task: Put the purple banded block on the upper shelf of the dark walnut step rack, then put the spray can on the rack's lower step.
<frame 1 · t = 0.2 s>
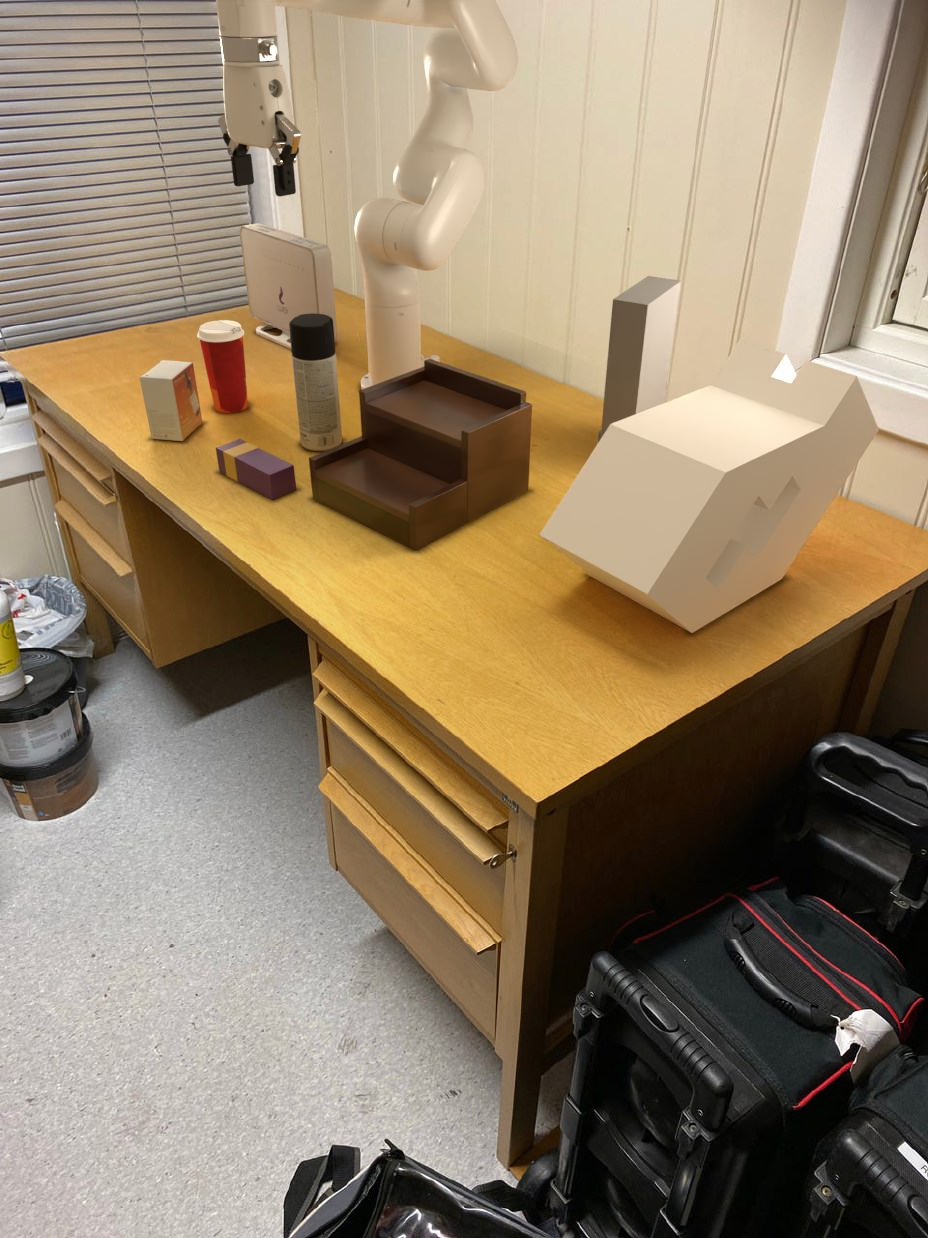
hand: (264, 189, 138), 37 cm above the table, tool pointing down, fingers open, 9 cm apart
cream angular block: (700, 570, 123), on the table
small box: (178, 432, 157), on the table
spray can: (321, 444, 153), on the table
cassette tape recorder: (628, 450, 152), on the table
purple banded block: (257, 480, 143), on the table
step rack: (413, 498, 138), on the table
paper cup: (231, 407, 166), on the table
network device: (294, 338, 195), on the table
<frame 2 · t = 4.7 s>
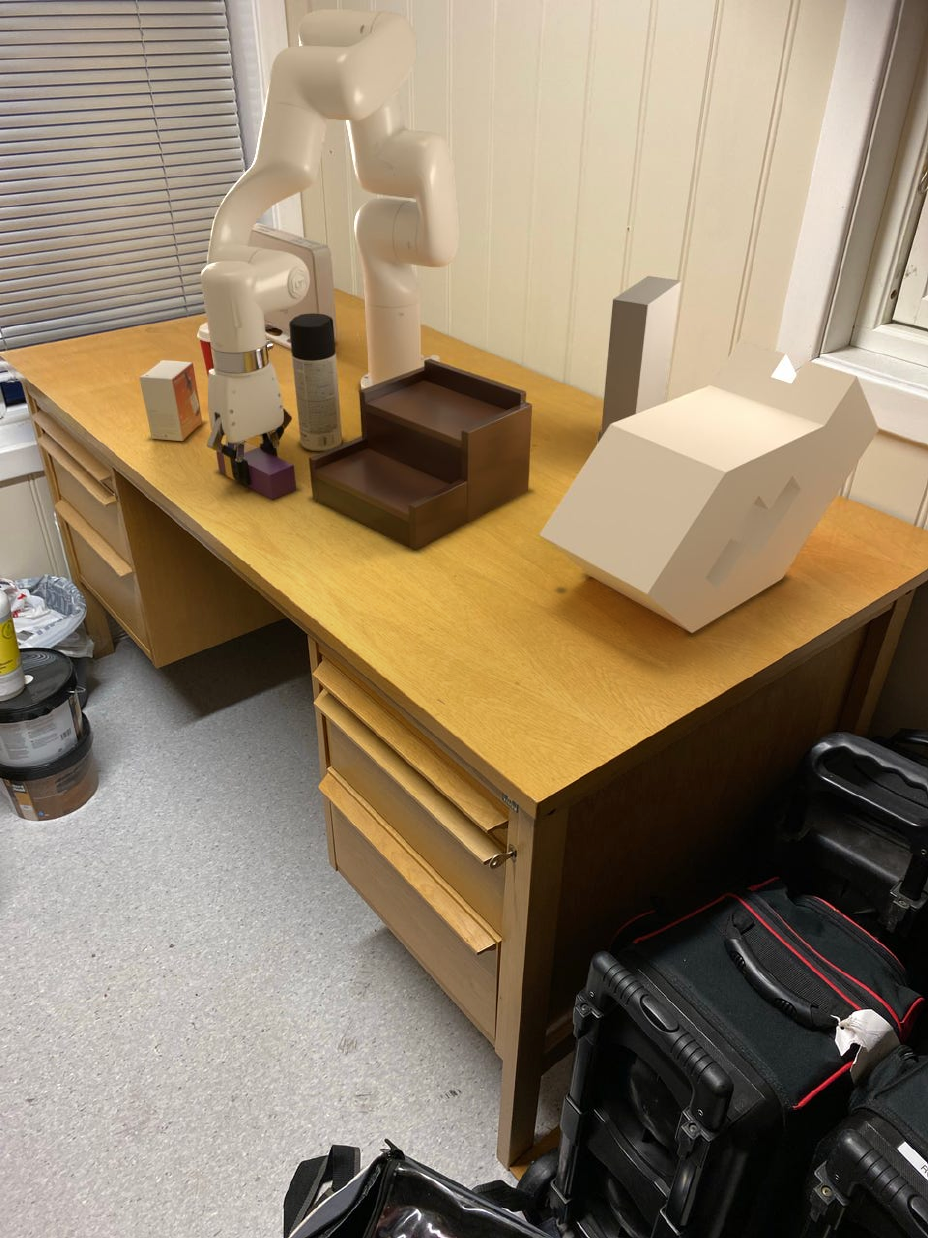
hand: (256, 475, 142), 1 cm above the table, tool pointing down, fingers closed on purple banded block, 4 cm apart
purple banded block: (257, 480, 143), on the table, touching gripper
everything else where it was.
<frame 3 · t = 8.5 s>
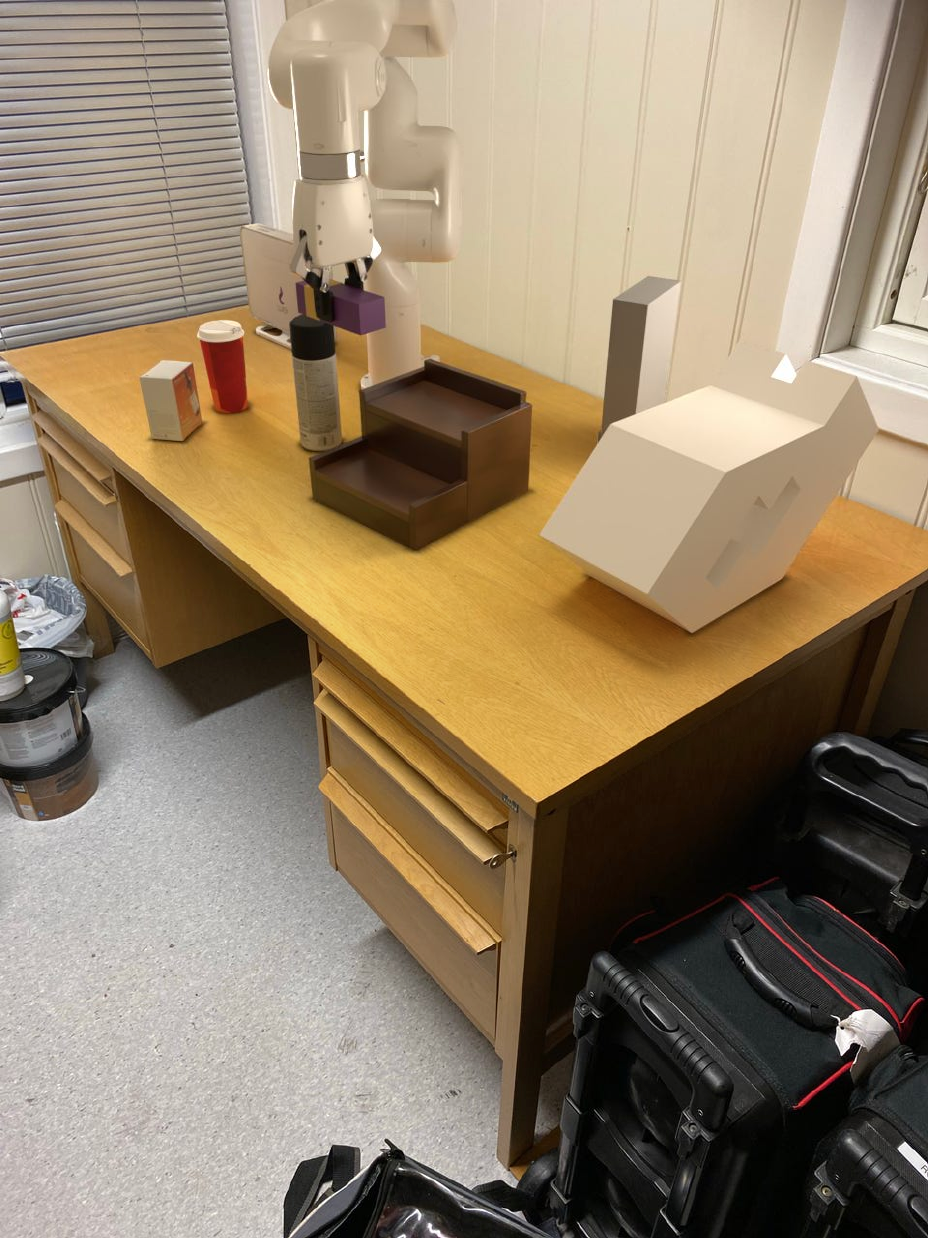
hand: (340, 313, 127), 25 cm above the table, tool pointing down, fingers closed on purple banded block, 4 cm apart
purple banded block: (341, 319, 128), point 24 cm above the table, touching gripper
everything else where it was.
when the fingers open (13 cm above the table, at t = 12.6 s): purple banded block stays where it is, resting on step rack.
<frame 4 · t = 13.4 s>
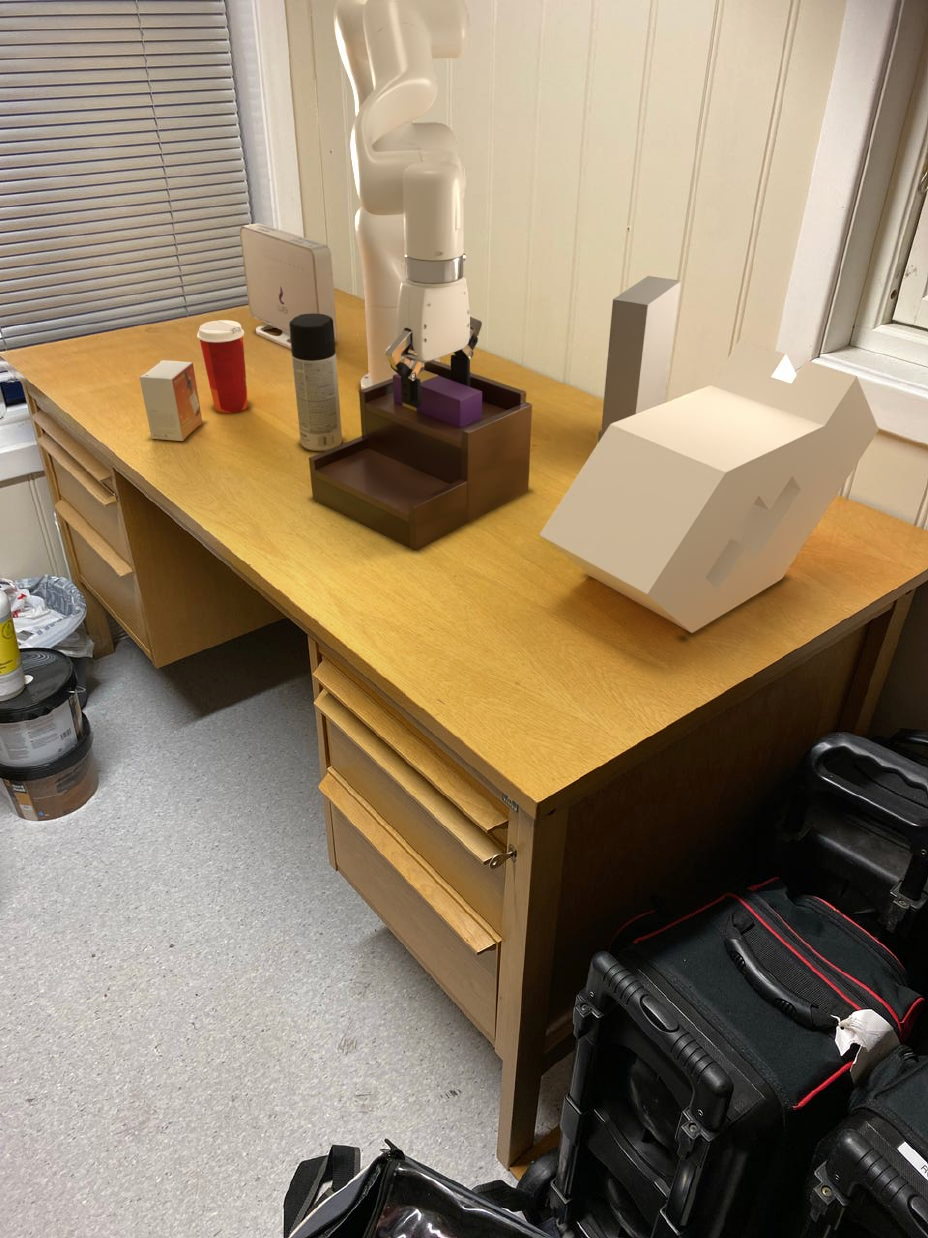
hand: (436, 394, 133), 14 cm above the table, tool pointing down, fingers open, 9 cm apart
purple banded block: (436, 410, 134), point 12 cm above the table, touching step rack
everything else where it was.
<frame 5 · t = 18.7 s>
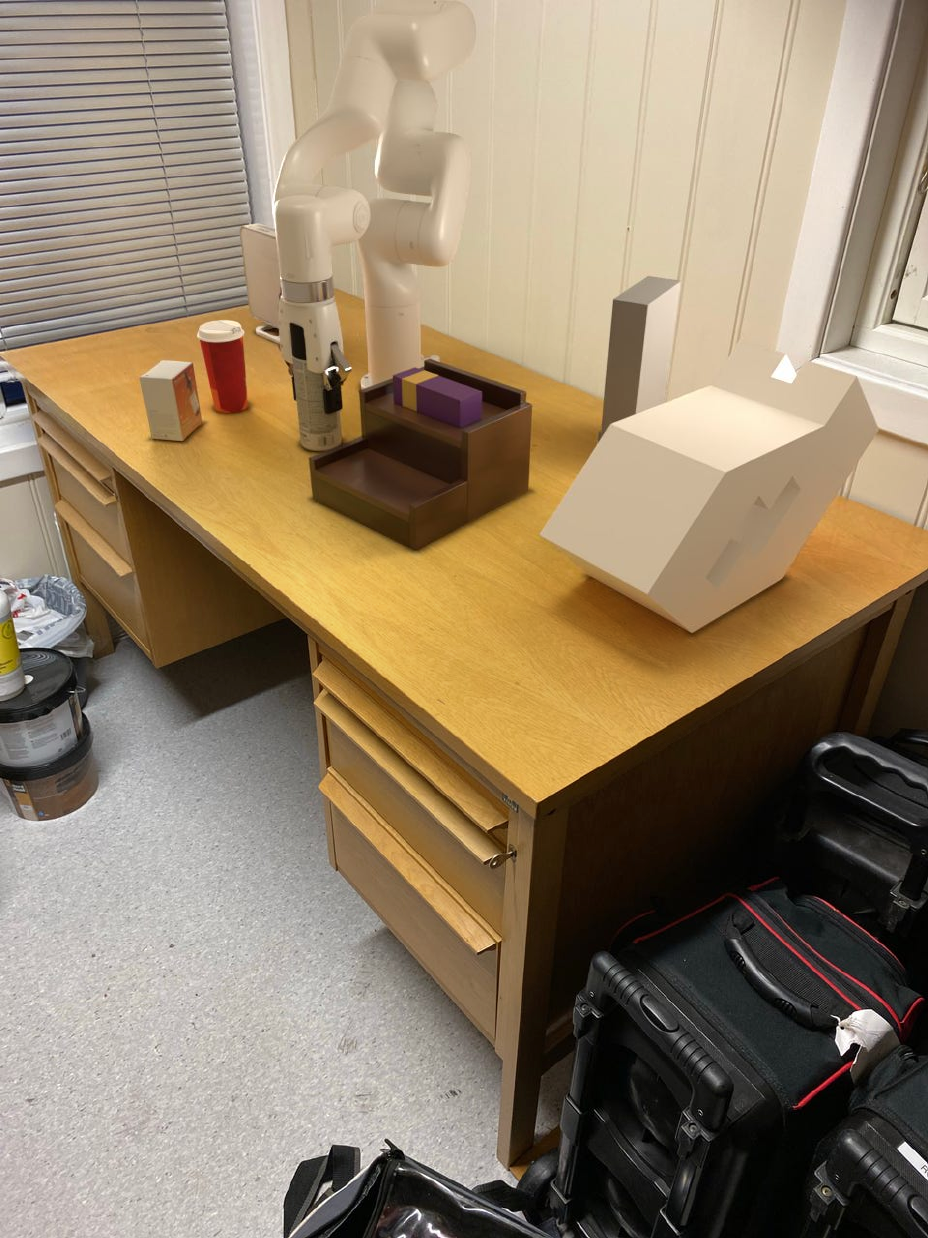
hand: (318, 404, 149), 7 cm above the table, tool pointing down, fingers closed on spray can, 6 cm apart
spray can: (321, 444, 153), on the table, touching gripper
everything else where it was.
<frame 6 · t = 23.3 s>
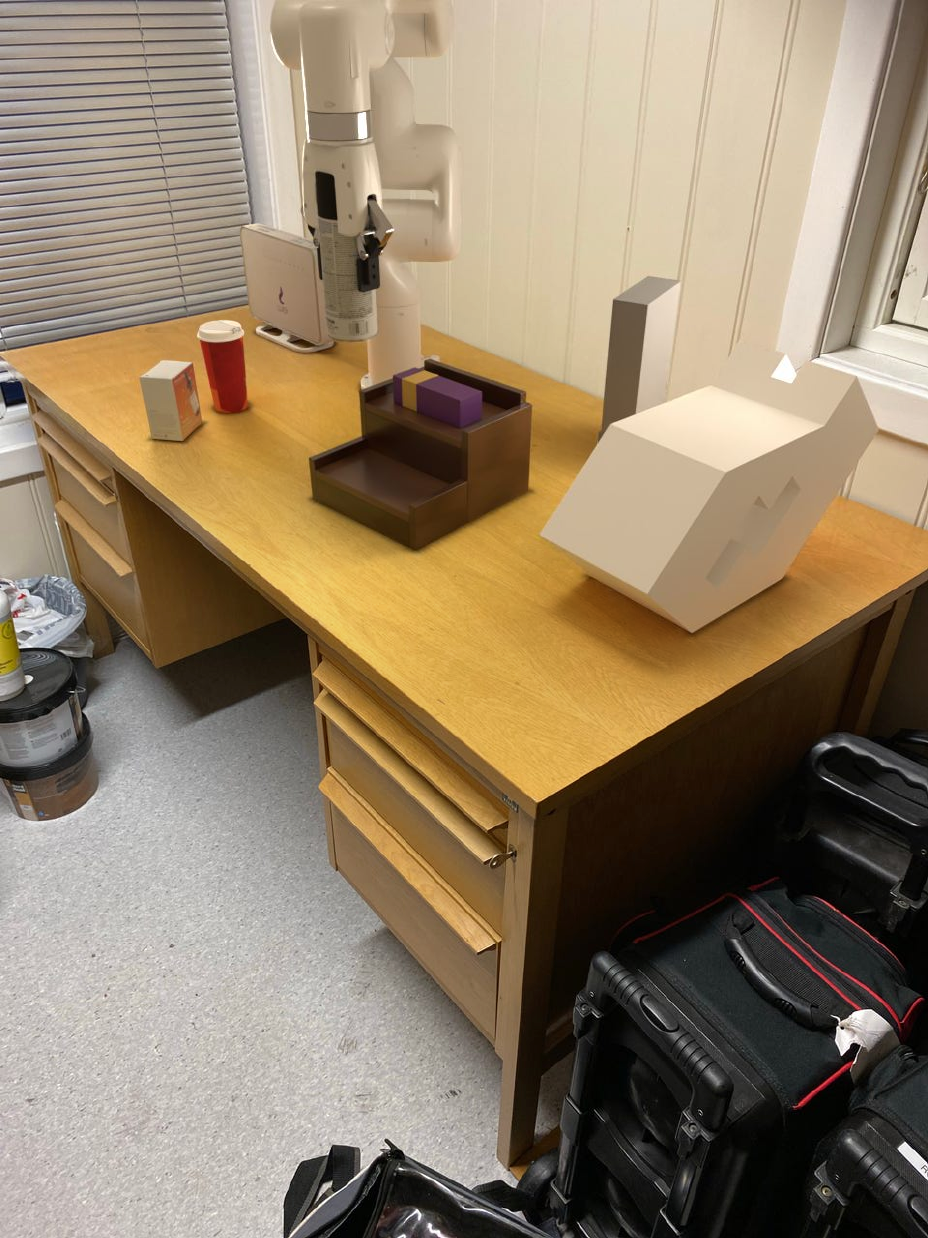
hand: (349, 282, 121), 30 cm above the table, tool pointing down, fingers closed on spray can, 6 cm apart
spray can: (352, 336, 125), point 23 cm above the table, touching gripper
everything else where it was.
when the fingers open (12 cm above the table, at t = 27.9 s): spray can stays where it is, resting on step rack.
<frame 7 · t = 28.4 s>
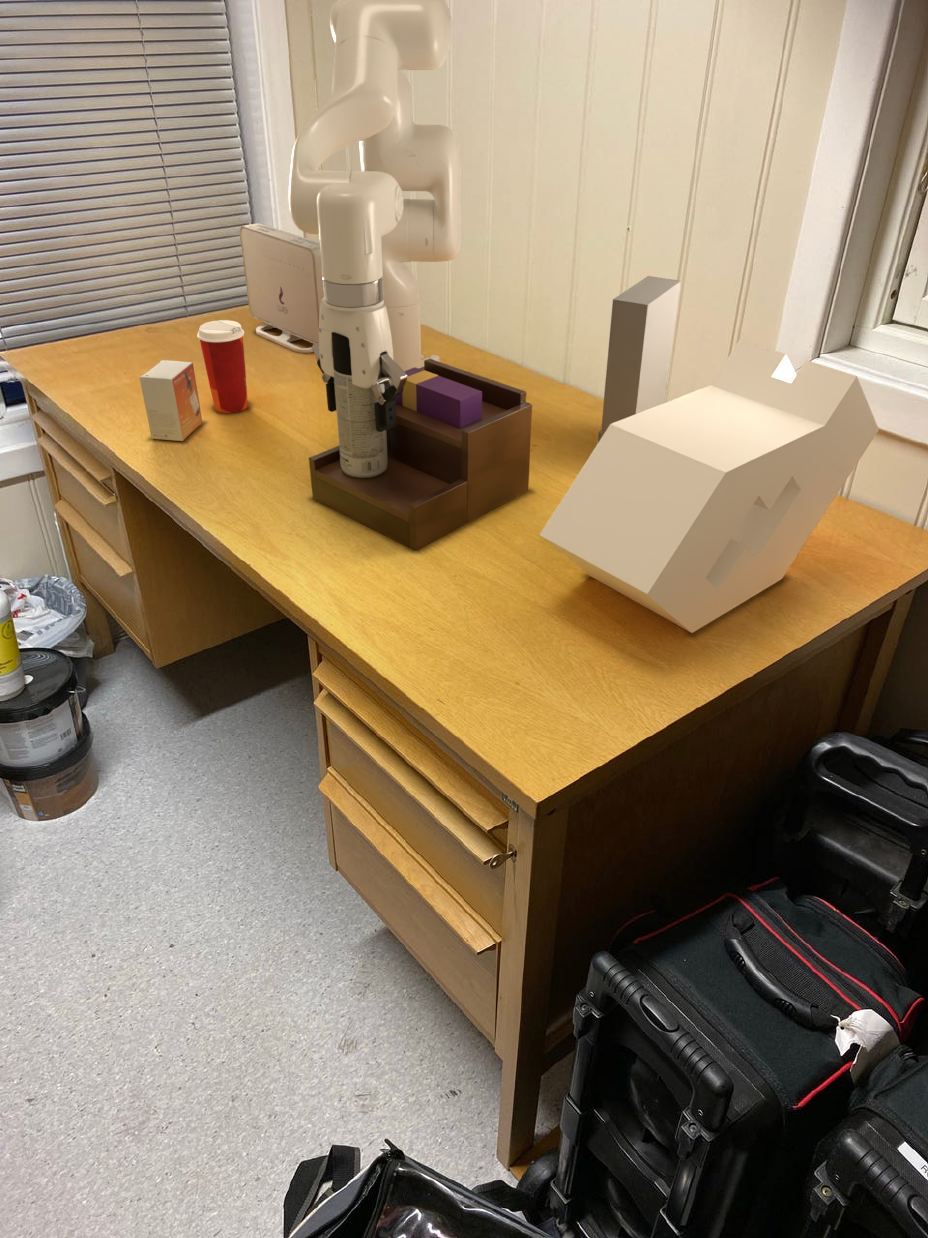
hand: (361, 418, 131), 13 cm above the table, tool pointing down, fingers open, 9 cm apart
spray can: (364, 470, 135), point 5 cm above the table, touching step rack
everything else where it was.
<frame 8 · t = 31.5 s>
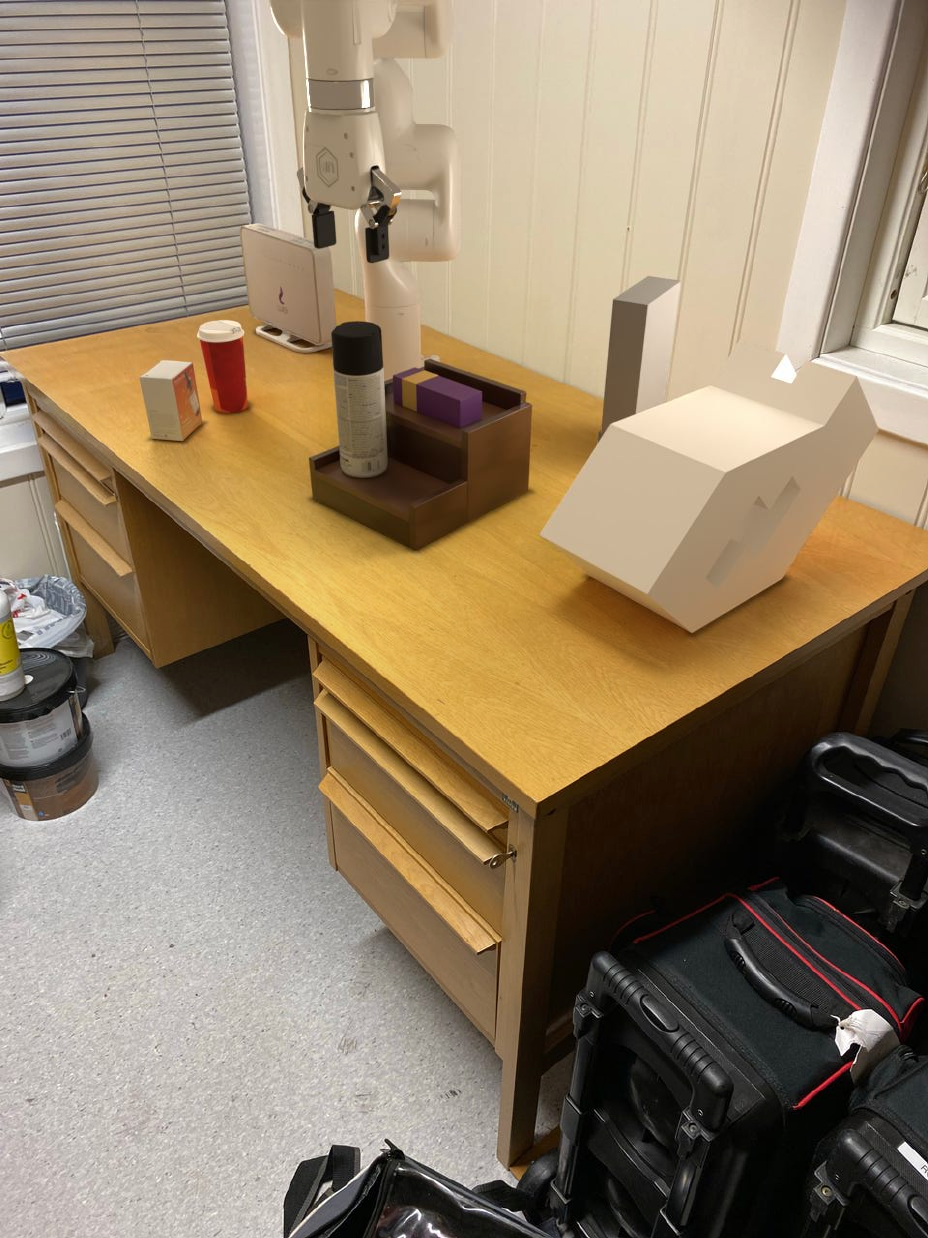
hand: (351, 253, 118), 34 cm above the table, tool pointing down, fingers open, 9 cm apart
nothing on the table moved.
at the end: purple banded block inside the target area on the step rack (1.0 cm from its centre), point 12.0 cm above the step rack's base; spray can inside the target area on the step rack (4.6 cm from its centre), point 4.8 cm above the step rack's base; spray can tilted 0° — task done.
